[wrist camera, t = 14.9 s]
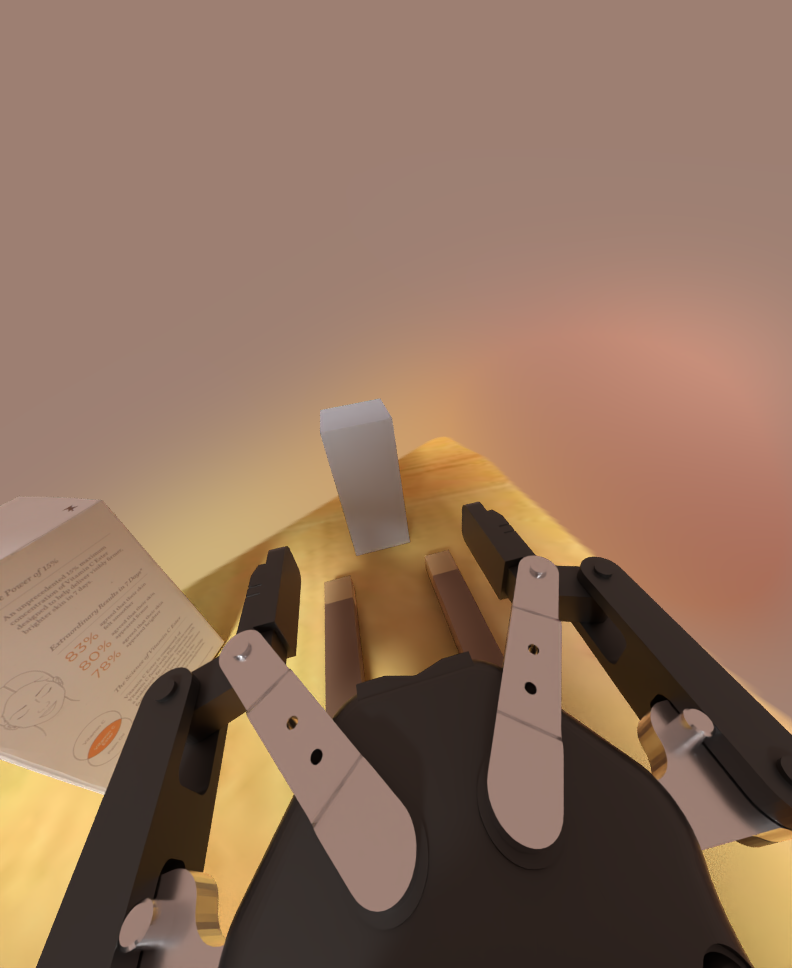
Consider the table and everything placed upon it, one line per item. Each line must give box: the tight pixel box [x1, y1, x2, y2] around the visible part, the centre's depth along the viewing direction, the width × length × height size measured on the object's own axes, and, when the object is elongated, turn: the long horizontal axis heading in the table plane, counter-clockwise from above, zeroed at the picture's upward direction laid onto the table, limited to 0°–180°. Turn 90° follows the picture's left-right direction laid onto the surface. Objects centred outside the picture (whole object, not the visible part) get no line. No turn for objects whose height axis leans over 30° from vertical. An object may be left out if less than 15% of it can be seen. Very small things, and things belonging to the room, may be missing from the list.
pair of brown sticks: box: [325, 550, 504, 719], centre depth 17 cm, size 10×14×2 cm
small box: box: [0, 496, 224, 795], centre depth 15 cm, size 8×6×13 cm
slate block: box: [320, 399, 410, 556], centre depth 25 cm, size 5×5×12 cm
